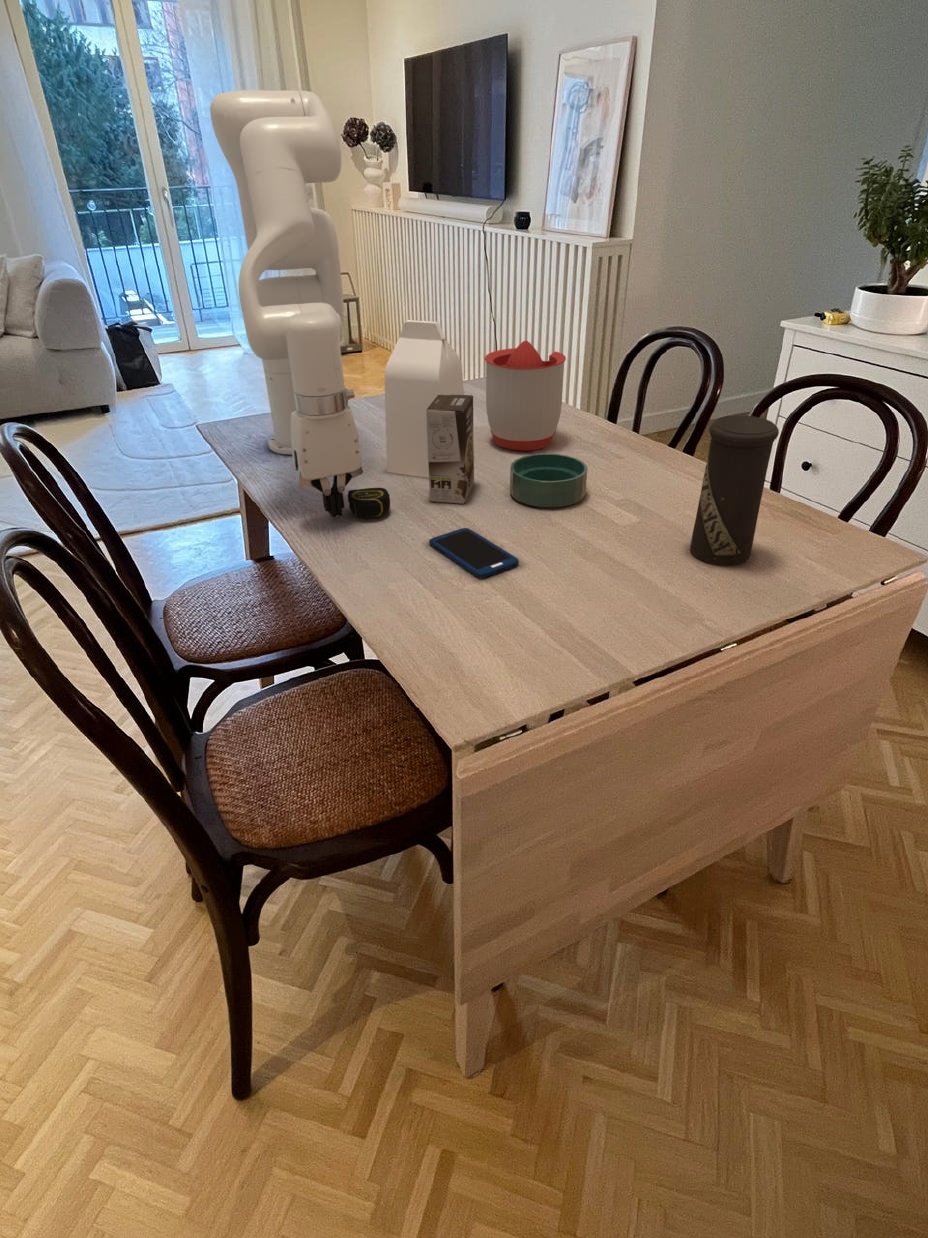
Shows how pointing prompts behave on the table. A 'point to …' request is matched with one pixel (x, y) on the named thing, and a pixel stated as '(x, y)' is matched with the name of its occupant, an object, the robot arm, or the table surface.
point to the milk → (416, 393)
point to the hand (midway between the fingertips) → (335, 513)
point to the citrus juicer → (523, 396)
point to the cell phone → (473, 552)
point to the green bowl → (548, 480)
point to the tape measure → (369, 502)
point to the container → (732, 489)
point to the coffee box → (450, 448)
